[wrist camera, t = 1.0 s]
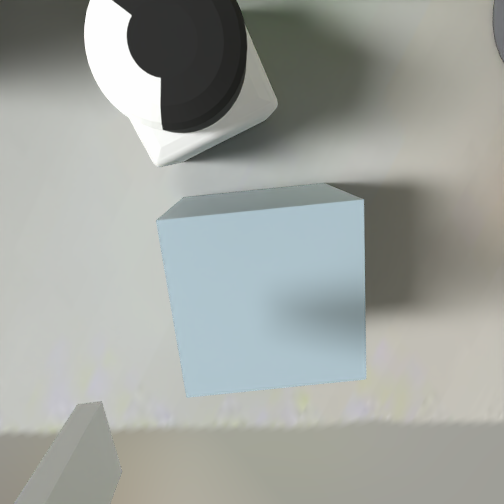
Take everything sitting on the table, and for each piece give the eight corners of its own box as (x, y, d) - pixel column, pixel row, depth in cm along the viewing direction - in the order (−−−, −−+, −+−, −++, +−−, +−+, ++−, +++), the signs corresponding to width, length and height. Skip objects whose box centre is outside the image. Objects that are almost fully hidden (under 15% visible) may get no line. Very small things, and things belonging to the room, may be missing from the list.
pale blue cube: (183, 197, 26) (156, 220, 18) (324, 183, 26) (363, 199, 18) (202, 325, 29) (186, 397, 21) (329, 312, 29) (366, 379, 21)
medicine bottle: (223, 10, 23) (205, -128, 12) (270, 117, 25) (295, 91, 13) (125, 63, 24) (16, -18, 12) (178, 164, 26) (127, 176, 14)
